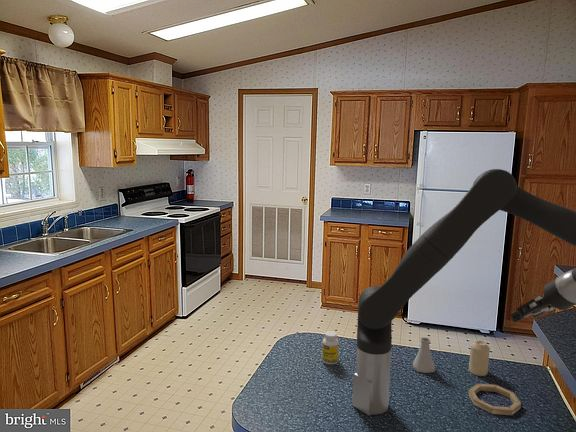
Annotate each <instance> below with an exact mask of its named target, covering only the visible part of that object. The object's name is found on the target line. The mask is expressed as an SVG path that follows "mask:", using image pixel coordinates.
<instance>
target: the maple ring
mask: <svg viewBox="0 0 576 432" xmlns="http://www.w3.org/2000/svg"><path fill="white" fill-rule="evenodd" d="M481 391H483V392H494V393H498V394H499V395H502V396H504V397H506V398H508V399H510V401H511V403H512V404H511V405H510V406H497V405H495V406H494V405H491V404H490V403H487V402H485V401H483V400H481V399H480V398H478V396H477V394H478V393H479V392H481ZM468 396H469V398H470V400H471V401H472V403H473V405H474V406H476V407H477V408H480V409H482V410H483V411H486V412H487V413H490V414H492V415H506V416H513V415H515V413H516V412H518V411H519V410H520V409H521V408H522V402H521V401H520V399H519V398H518V396H517V395H516V394H515V392H513V391H511V390H509V389H507V388H504V387H502V386H500V385H498V384H491V383H490V384H488V383H476V384H475V385H473V386H472V387H471V388H469V389H468Z"/></svg>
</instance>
